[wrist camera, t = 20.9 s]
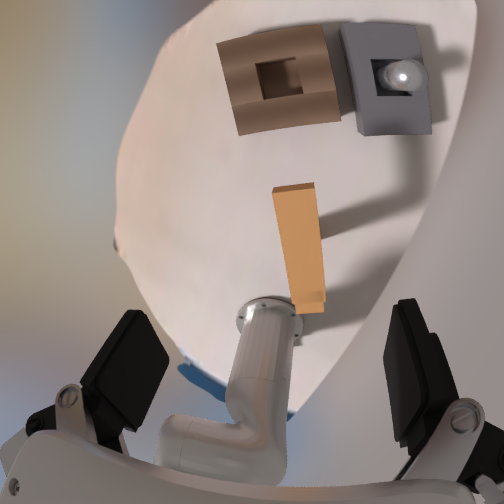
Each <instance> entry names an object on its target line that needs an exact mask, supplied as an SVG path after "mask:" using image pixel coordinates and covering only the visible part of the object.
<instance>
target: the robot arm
mask: <svg viewBox="0 0 504 504" xmlns="http://www.w3.org/2000/svg"><path fill="white" fill-rule="evenodd" d="M236 325H237V328H238V330H239V332H240V333H241V336H240V340H239V344H238V348H237V352H236V355H235V359H234V363H233V367H232V370H231V374H230V378H229V382H228V386H227V390H226V394H225V402H226V406H227V409H228V412H229V413H230V415H231V417H232V419H233V420H234V422H235V424H228V423H226V424H225V423H221V422H216V421H212V420H207V419H203V418H199V417H194V416H190V415H186V414H173V415H171V416H169V417H168V418H167V419H166V420H165V421H164V423H163V424H162V426H161V429H160V432H159V435H158V439H157V445H156V449H155V457H154V463H153V464H151V463H148V462H144V461H141V460H138V459H135V458H133V457H130V456H129V453H128V450H127V447H126V444H125V440H124V437H123V433H122V430H123V428H125V429H126V430H129V431H132V432H135V433H136V431H137V429H138V427H140V426H141V425H142V423H143V421H144V419H145V416H146V414H147V412H148V409H149V407H150V405H151V403H152V400H153V398H154V396H155V394H156V391H157V389H158V387H159V385H160V382H161V380H162V378H163V376H164V374H165V371H166V369H167V367H168V365H169V356H168V354H167V352H166V351H165V349H164V347H163V345H162V344H161V342H160V340H159V338H158V336H157V335H156V332H155V331H154V329H153V327H152V325H151V323H150V321H149V319H148V317H147V315H146V314H144V313H143V311H141V310H127V311H126V313H125V314H124V315H123V317H122V318H121V320H120V321H119V322H118V324H117V325H116V327H115V328H114V330H113V331H112V333H111V334H110V336H109V337H108V339H107V340H106V341H105V343H104V345H103V346H102V348H101V349H100V351H99V352H98V354H97V355H96V357H95V358H94V360H93V361H92V363H91V364H90V366H89V367H88V369H87V371H86V372H85V374H84V376H83V377H82V379H81V380H80V383H81V385H82V386H83V387H82V388H80V387H79V386H78V385H76V384H69V385H66V386H64V387H63V388H62V389H61V390H60V391H59V392H58V394H57V396H56V400H55V404H54V405H52V406H50V407H47V408H45V409H43V410H41V411H38V412H36V413H34V414H33V415H31V416H30V417H29V419H28V420H27V424H26V429H25V428H23V429H21V430H20V431H19V432H18V433H17V434H15V435H14V436H13V437H12V438H10V439H9V440H8V441H7V442H5V443H4V444H3V445H2V447H1V449H0V459H1V462H2V465H3V468H4V471H5V474H6V477H7V479H6V481H5V483H4V486H3V488H2V491H1V494H0V504H476V502H475V499H474V496H473V494H472V492H473V493H476V494H481V495H482V496H483V498H484V499H485V500H486V501H485V502H484V503H485V504H504V431H503V430H501V429H500V428H498V427H496V426H494V425H492V424H490V423H488V422H486V421H485V413H484V410H483V408H482V406H481V405H480V404H479V403H478V402H477V401H475V400H474V399H470V398H461V399H459V396H458V392H457V389H456V386H455V383H454V380H453V376H452V374H451V370H450V367H449V364H448V361H447V359H446V356H445V353H444V350H443V348H442V345H441V342H440V340H439V337H438V336H437V334H436V333H429V331H428V329H427V326H426V323H425V321H424V318H423V316H422V313H421V311H420V308H419V306H418V304H417V301H416V300H415V299H414V298H411V299H403V300H399V301H398V304H396V305H394V306H393V310H392V316H391V322H390V326H389V332H388V336H387V341H386V346H385V350H384V355H383V361H384V368H385V374H386V380H387V386H388V392H389V398H390V405H391V413H392V420H393V428H394V438H395V441H396V442H398V441H400V448H402V447H407V446H408V454H409V455H410V457H409V459H408V460H407V462H406V463H405V465H404V466H403V467H402V469H401V470H400V471H399V473H398V474H397V475H396V476H395V478H394V479H393V480H392V481H389V482H379V483H370V484H360V485H349V486H331V487H283V486H277V485H278V484H279V483H280V482H281V481H282V480H283V478H284V476H285V473H286V468H287V444H286V420H287V408H288V399H289V389H290V379H291V369H292V358H293V346H294V342H295V341H296V340H297V339H298V338H299V337H300V336H301V334H302V332H303V325H304V323H303V318H302V316H301V314H296V309H295V308H294V307H293V306H292V305H290V304H288V303H286V302H284V301H281V300H277V299H269V298H266V299H257V300H253V301H250V302H248V303H247V304H245V305H244V306H243V307H242V308H241V309H240V310H239V312H238V315H237V319H236Z"/></svg>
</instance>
